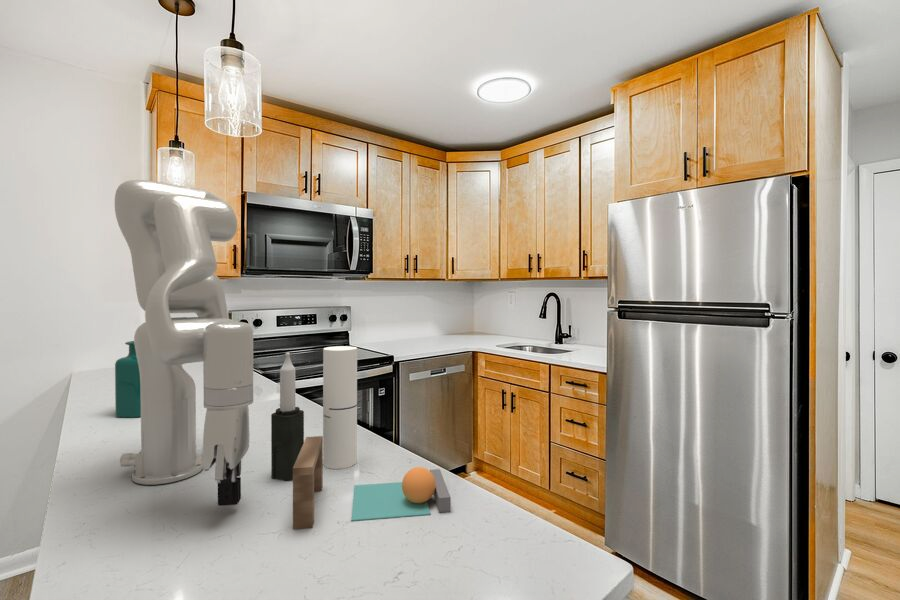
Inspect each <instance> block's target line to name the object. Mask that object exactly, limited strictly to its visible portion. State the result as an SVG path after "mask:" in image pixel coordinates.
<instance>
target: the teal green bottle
mask: <svg viewBox="0 0 900 600" xmlns="http://www.w3.org/2000/svg"><path fill="white" fill-rule="evenodd" d="M124 344H125V345H126V346H128V354H127V356H124V357H120V358H118V359H117V360H116V361H115V363H114V399H115V402H114V403H115V409H114V410H115V416H116V417H117V418H127V419H129V418H133V419H134V418H141V392H140V373H139V365H138V360H137V355H136V350H135V345H134V340H132V341H129V340H128V341H126V342H125V343H124Z"/></svg>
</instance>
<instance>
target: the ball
mask: <svg viewBox="0 0 900 600" xmlns="http://www.w3.org/2000/svg"><path fill="white" fill-rule="evenodd" d="M401 482H402V490H403V493H404V495H405V497H406V498H407V499H408V500H409V501H411V502H413V503H424V502H426V501H427V502H428V501H429V500H430V499H431V498H432V497H433V496H434V495H433V494H434V491H435V487H436V483H435V478H434V476H433V474H432V473H431V472H430V469H428V468H425V467H421V466H416V467H413V468H411V469H410V470H408V471H407V472H406V473H405V474H404V476H403V478H402V481H401Z"/></svg>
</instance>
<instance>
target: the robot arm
mask: <svg viewBox="0 0 900 600" xmlns="http://www.w3.org/2000/svg"><path fill="white" fill-rule="evenodd" d="M114 212H115V219H116V221H117V222H116V223H117V224H118V227H119V229H120V232H121V234H122V236H123V238H124V239H125V242H126V244H127V247H128V249H129V252H130V255H131V264H132V272H133V276H134V277H133V278H134V283H135V291H136V296H137V300H138V303H139V306H140V308H141V309H142V310H143V311H145V313H144V314H145V315H144V317H145V319H144V320H145V322H143V323H141V324H140V325H138V327H137V329H136V330H135V333H134V336H133V341H134V345H135V350H136V355H137V360H138V365H139V373H140V392H141V417H140V451H139V452H138V453H133V452H130V453H122V454H121V456H120V459H119V463H120V467H121V468H123V467H124V468H125V467H133V468H135V469H134V470H132V473H131V480H132V481H133V483H136V484H138V485H148V486H149V485H150V486H151V485H152V486H153V485H163V484H164V485H165V484H169V483H174V482H175V483H176V482H178V481H182V480H185V479H188V478H190V477H194V476H195V475H197V474H199V473H200V472H201V471H202V470H203V471H205V472H207V471H209V470H210V469H211V468H212V467H213V466H214V465H215V468H214V480H215V481H216V483H217V506H220V507H221V506H222V507H224V506H225V507H226V506H236V505H238V504H239V503H240V500H241V499H242V485H241V484H242V483H241V482H242V477H241V474H242V459H243V458H244V457H245V455H246V454H247V452H248V450H249V447H250V414H249V413H250V412H249V411H250V408H249V406H250V405H252V404H253V403H254V330H253V327H252V325H251V324H250V323H247V322H243V321H235V320H233V319H230V318H229V311H228V306H227V300H226V295H225V290H224V286H223V283H222V282H221V279H220V278H219V277H218V275H217V274H216V271H217V268H218V263H217V262H218V261H217V259H216V258H217V257H216V256H215V251H214V248H213V247H214V246H213V244H212V242H221V243H226V242H229V241H232V240H233V238H234V237H235V235H236V234H237V231H238V230H237V229H238V219H237V216H236V213H235V211H234V209H233V208H232V206H231V205H230V203H228V202H227V201H226V200H224V199H223V198H220V197H219V196H217V195H215V194H213V193H212V192H210V191H207V190H204V189H200V188H195V187H188V186H182V185H177V184H172V183H165V182H159V181H155V180H147V179H146V180H144V179H131V180H128V181H127V180H126V181H124V182H122V183H119V185H118V186H117V189H116V190H115V196H114ZM189 313H190V314H192V313H193V314H196V315H197V316H191V317H189V316H188V317H187V316H183V317H182V316H181V317H179V316H178V317H171V314H189ZM201 362H203V370H202V371H203V408H205V409H206V412H205V419H204V425H203V437H202V438H203V439H202V456H201V457H200V456H197V418H196V417H197V415H196V414H197V413H196V412H197V410H196V409H197V404H196V403H197V402H196V399H197V398H196V397H197V395H196V393H197V392H196V384H195V380H194V379H193V377H192V376H191V375H190V374H189V373H188V372H187V370H185V369H184V368H183V365H185V364H192V363H193V364H194V363H201Z"/></svg>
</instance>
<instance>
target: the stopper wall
mask: <svg viewBox="0 0 900 600" xmlns="http://www.w3.org/2000/svg"><path fill="white" fill-rule="evenodd" d="M429 471H430V472H431V473H432V474H433V476H434V478H435V483H436V487H435V491H434V494H433V495H432V496H433V498H434V502H435V504H436V508H437V511H438V513H449V512H451V504H452V503H451V494H450V493H449V489H448V487H447V484H446V481H445V480H444V477H443V474H442V471H441V469H440V468H435V469H429Z"/></svg>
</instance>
